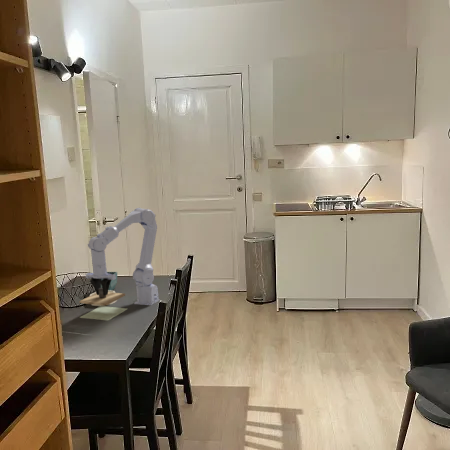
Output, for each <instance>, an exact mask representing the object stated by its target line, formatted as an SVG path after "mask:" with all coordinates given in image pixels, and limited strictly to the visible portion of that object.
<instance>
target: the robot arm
mask: <svg viewBox="0 0 450 450" xmlns="http://www.w3.org/2000/svg"><path fill="white" fill-rule="evenodd" d="M156 216H157V215H156V214H155V212H154V211H153V210H152V209H150V208H142V207H136V208H135V209H134V210H132V211H130V212H129V214H127V215H126V216H125V217H124V218H122V219H121V220H120V221H119V222H117V224H115V225H114V226H106V227H105V229H104V230H103V231H101V232H100V233H97V234H96V236H93V237H91V238H90V239H89V241H88V243H87V247H88V248H89V249H90V254H91V264H92V265H91V266H92V272H87V273H85V279H90V280H89V282H90V284H91V285H92V286H93V289H94V291H95V292H96V293H97V295H99V291H98V289H99V288H101V285H102V288H103V295H104V296H105V295H107V294H108V289H109V285H110V282H111V280H114V279H116V275H114V274H109V273H107V272H108V270H107V262H106V260H107V258H106V251H105V250H106V248H107V245H109V244H110V243H111V242H113V241H114V240H115V239H117V238H118V237H119V234H120V232H122V231H123V230H125V229H126V228H128V227H130V226H131V225H132V224H138V223H139V224H140V225H141V226H142V228H143V229H144V233H143V237H142V245H141V250H140V256H139V262H138V263H137V264H136V266H135V269H134V271H133V273H132V278H133V280H134V281H135V287H136V288H135V289H136V299H137V301H135V302H133V304H134V305H142V306H152V305H154V304H156V303H157V302H159V301H160V299H159V288H158V286H157V284H153V283H154V278H155V276H154V267H153V265H152V260H153V255H154V248H155V244H156V243H155V241H156V236H157V230H158V224H157V220H156ZM101 279H103V280H101Z"/></svg>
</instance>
